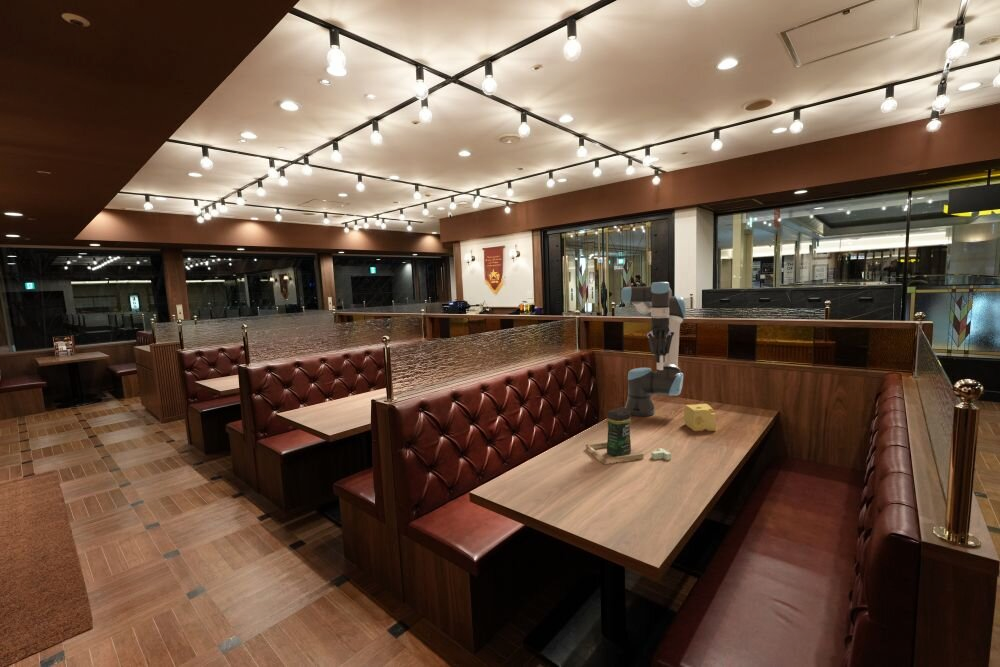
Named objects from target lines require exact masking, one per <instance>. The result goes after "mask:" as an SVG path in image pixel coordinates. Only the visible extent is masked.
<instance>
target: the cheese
mask: <svg viewBox="0 0 1000 667" xmlns="http://www.w3.org/2000/svg"><path fill="white" fill-rule="evenodd" d="M683 416H684V417H683V418H684V424H685V425H686V426H687V427H688V428H690V429H691V430H692V431H694V432H704V431H709V432H710V431H717V422H716V419H717V415H716V414H715V410H714V409H713V407H711V405H709V404H707V403H699V404H698V403H697V404H685V406H684V411H683Z"/></svg>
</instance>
